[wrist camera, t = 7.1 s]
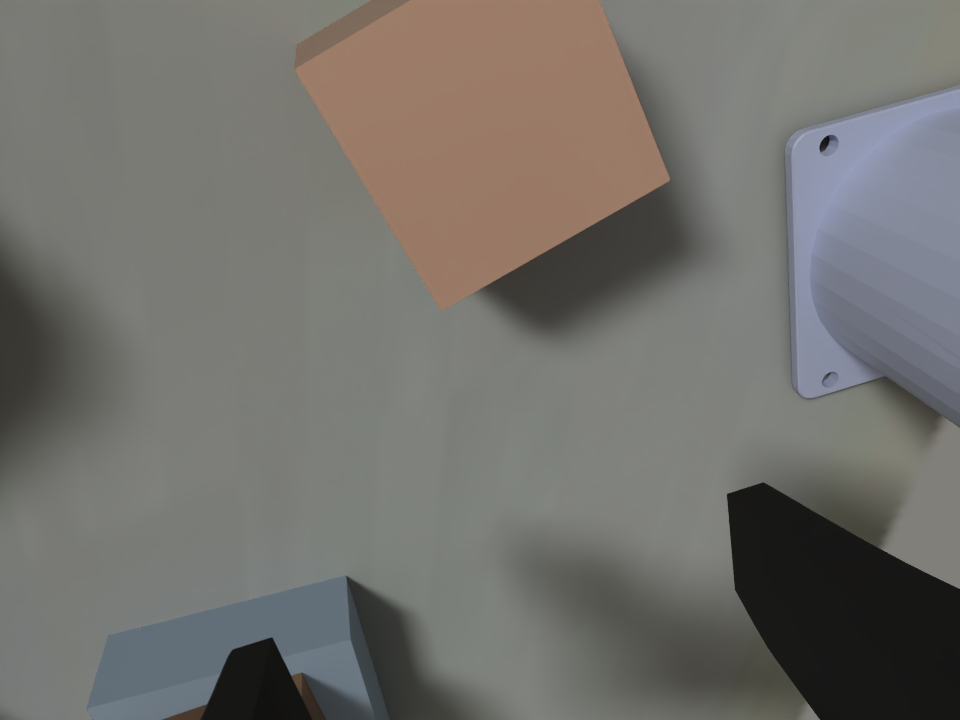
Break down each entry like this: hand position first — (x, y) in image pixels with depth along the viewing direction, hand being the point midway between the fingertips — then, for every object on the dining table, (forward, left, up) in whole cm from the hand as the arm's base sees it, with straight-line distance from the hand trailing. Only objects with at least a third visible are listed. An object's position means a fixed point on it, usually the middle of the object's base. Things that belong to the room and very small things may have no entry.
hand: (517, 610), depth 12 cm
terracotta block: (-2, -6, -10) cm, 12 cm away
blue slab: (+8, +10, -10) cm, 16 cm away
